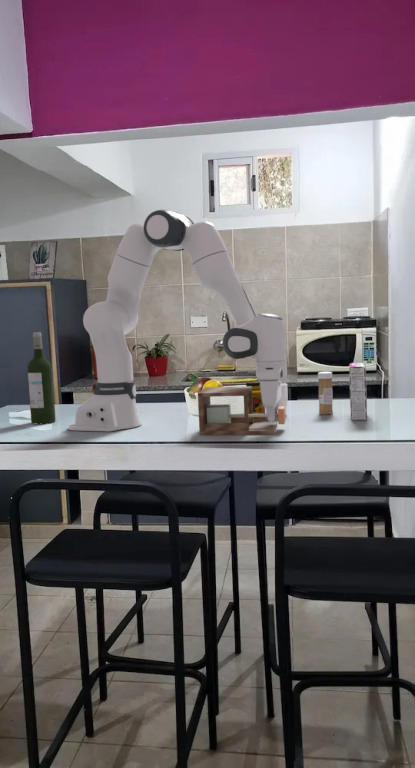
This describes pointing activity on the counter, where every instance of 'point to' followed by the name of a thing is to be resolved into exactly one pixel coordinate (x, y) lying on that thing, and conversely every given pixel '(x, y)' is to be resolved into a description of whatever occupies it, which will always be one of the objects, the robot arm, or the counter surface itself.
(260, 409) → the condiment
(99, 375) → the robot arm
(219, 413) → the mallet
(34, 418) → the wine bottle
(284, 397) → the white cup
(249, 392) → the shelf
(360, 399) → the candy bar box
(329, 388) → the sprinkles bottle
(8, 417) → the counter surface
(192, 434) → the counter surface
